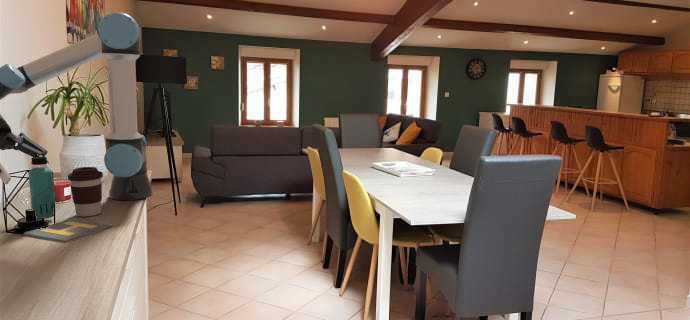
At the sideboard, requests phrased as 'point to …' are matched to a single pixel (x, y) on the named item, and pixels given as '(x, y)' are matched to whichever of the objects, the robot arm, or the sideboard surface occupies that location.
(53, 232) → the letter board
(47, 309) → the sideboard surface
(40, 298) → the sideboard surface
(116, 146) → the robot arm
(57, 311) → the sideboard surface
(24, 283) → the sideboard surface
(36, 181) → the beverage bottle
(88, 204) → the coffee cup
